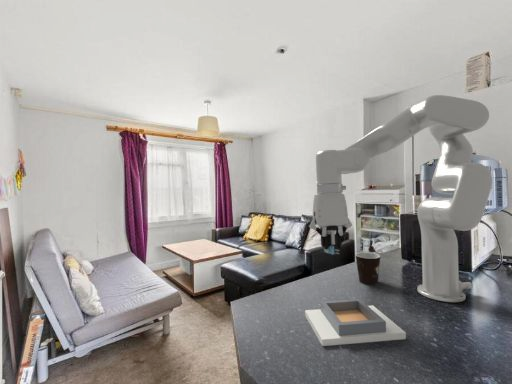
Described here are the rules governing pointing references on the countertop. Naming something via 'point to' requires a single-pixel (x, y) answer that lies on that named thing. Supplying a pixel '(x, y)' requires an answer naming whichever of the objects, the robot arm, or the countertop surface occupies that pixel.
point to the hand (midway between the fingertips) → (331, 247)
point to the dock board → (351, 323)
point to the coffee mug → (368, 267)
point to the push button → (331, 240)
